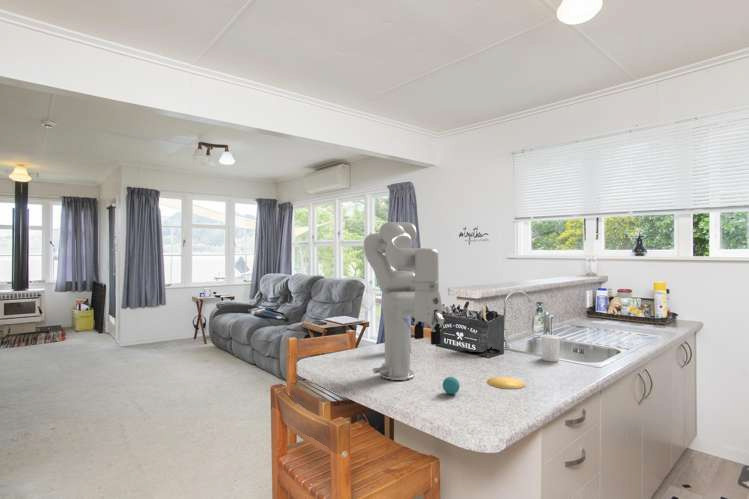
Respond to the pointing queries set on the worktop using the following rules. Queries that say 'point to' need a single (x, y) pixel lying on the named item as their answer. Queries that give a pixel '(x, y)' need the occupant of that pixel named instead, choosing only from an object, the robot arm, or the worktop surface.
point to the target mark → (506, 383)
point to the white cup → (550, 347)
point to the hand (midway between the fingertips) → (427, 341)
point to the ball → (451, 385)
